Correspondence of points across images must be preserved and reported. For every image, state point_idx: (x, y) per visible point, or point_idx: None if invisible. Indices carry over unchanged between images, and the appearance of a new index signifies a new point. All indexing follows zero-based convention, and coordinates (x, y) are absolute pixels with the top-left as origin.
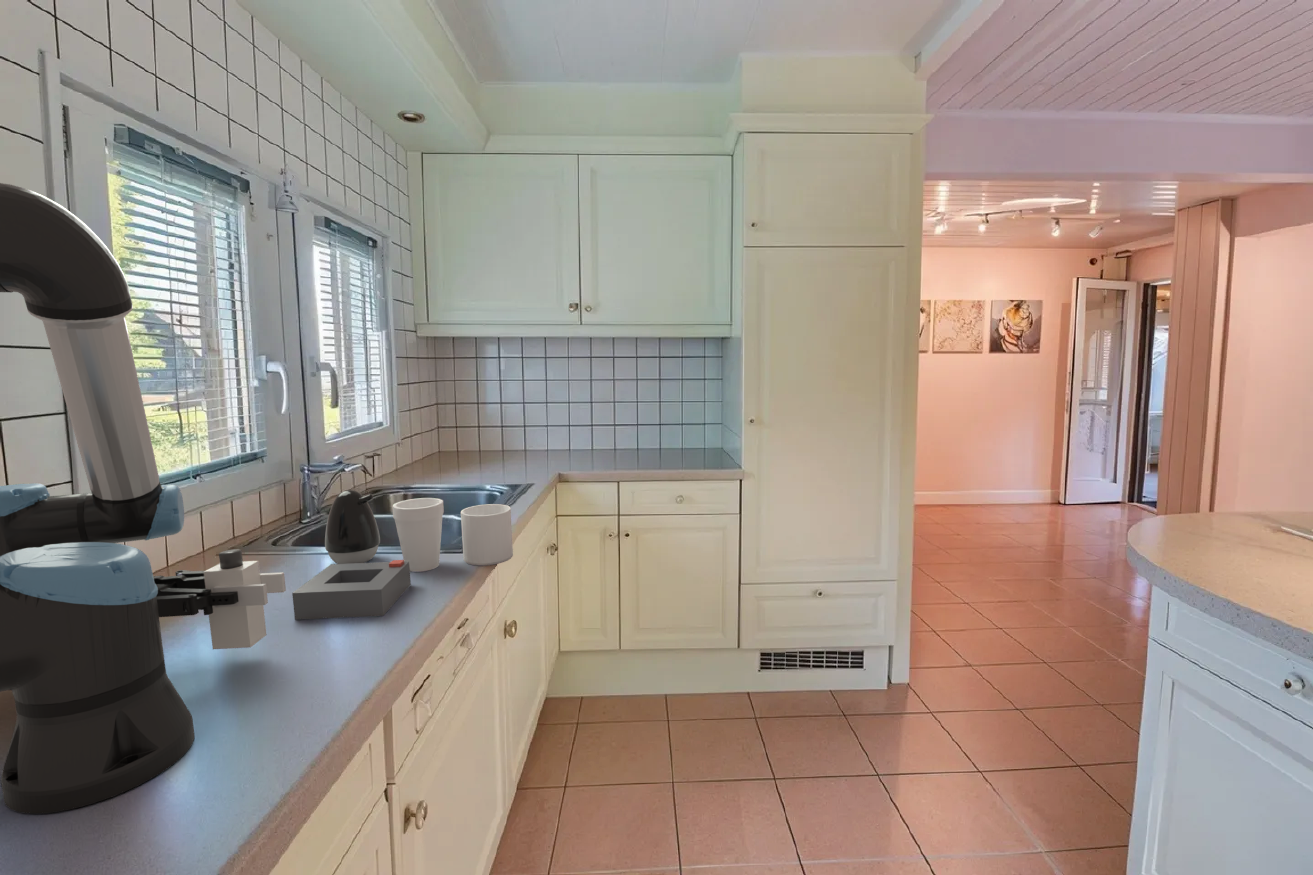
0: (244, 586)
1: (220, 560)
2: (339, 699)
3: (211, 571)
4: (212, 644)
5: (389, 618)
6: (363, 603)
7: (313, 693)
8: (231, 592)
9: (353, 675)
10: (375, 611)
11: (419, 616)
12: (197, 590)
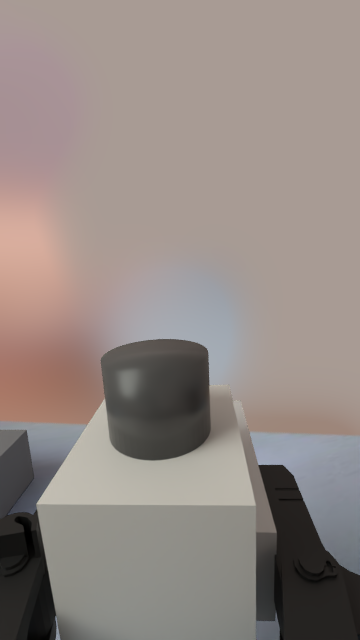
0: (247, 432)
1: (199, 398)
2: (325, 452)
3: (245, 468)
4: None
5: (54, 467)
6: (8, 480)
7: (321, 483)
8: (267, 477)
9: (260, 456)
10: (25, 479)
11: (72, 436)
12: (320, 630)
